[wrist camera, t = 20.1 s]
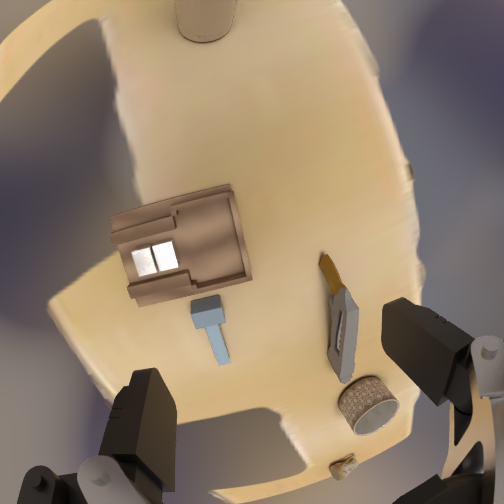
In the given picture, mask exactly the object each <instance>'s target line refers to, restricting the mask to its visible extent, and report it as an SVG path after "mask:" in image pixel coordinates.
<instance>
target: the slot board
mask: <svg viewBox="0 0 504 504" xmlns="http://www.w3.org/2000/svg"><path fill="white" fill-rule="evenodd" d="M110 221H111V224H112V228H113V232H112V233H110V237H111V241H112V244H113V246H116V245H118V249H119V252H120V255H121V258H122V262H123V265H124V268H125V271H126V274H127V277H128V279H129V282H130V284H129V285H128V287H127V290H128V292H129V295H130V298H131V299H133V298H135V299H136V301H137V304H138V307H142V306H146V305H151V304H155V303H160V302H164V301H169V300H173V299H177V298H181V297H186V296H190V295H194V294H198V293H203V292H207V291H211V290H215V289H219V288H223V287H227V286H231V285H235V284H239V283H243V282H247V281H251V280H253V279H252V274H251V270H250V265H249V261H248V256H247V252H246V247H245V243H244V238H243V234H242V229H241V225H240V220H239V216H238V211H237V206H236V202H235V197H234V193H233V191H232V190H231V185H230V184H228V185H224V186H219V187H215V188H211V189H207V190H203V191H199V192H195V193H191V194H187V195H183V196H179V197H175V198H171V199H168V200H164V201H160V202H157V203H153V204H150V205H146V206H143V207H139V208H136V209H133V210H129V211H126V212H123V213H120V214H116V215H113V216H110ZM171 238H174V242H175V246H176V249H177V253H178V256H179V260H180V264H179V267H176V268H172V269H168V270H164V271H160V270H159V269H158V271H157V272H156V273H152V274H148V275H144V276H140V277H139V275H138V272H137V269H136V266H135V262H134V259H133V256H132V253H131V252H132V251H133V250H134V249H135V248H137V247H141V246H144V245H148V244H152V243H153V245H154V244H155V243H156V242H159V241H163V240H167V239H171Z"/></svg>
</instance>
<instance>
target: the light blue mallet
mask: <svg viewBox="0 0 504 504" xmlns="http://www.w3.org/2000/svg"><path fill="white" fill-rule="evenodd" d="M191 317H192V320H193V322H194V325H195V328H196V329H200V328H204V327H205V328H206V331H207V334H208V337H209V340H210V342H211V345H212V348H213V351H214V353H215V356H216V359H217V361H218V364H219V366H220V365H224V364H229V363H230V357H229V353H228V350H227V347H226V344H225V341H224V338H223V335H222V332H221V329H220V325H219V324H222V323H226V322H225V316H224V310H223V306H222V303H221V299H220V295H216V296H212V297H208V298H203V299H199V300H195V301H191Z"/></svg>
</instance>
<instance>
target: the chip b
mask: <svg viewBox="0 0 504 504" xmlns="http://www.w3.org/2000/svg"><path fill="white" fill-rule="evenodd" d="M152 247H153V251H154V254H155V257H156V261H157V264H158V267H159V270H160V271H164V270H168V269H172V268H176V267H179V264H180V260H179V256H178V253H177V249H176V246H175V242H174V238H171V239H167V240H163V241H159V242H156V243H155V244H154V245H153V246H152Z"/></svg>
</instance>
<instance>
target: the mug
mask: <svg viewBox="0 0 504 504" xmlns="http://www.w3.org/2000/svg"><path fill="white" fill-rule="evenodd" d="M351 458H353V459H351ZM355 458H356V456H351V457H349V458H348V459H347V460H345V461H344V462H341V463H336V464H334V465H332V466H331V467H330V472H331V474H332V476H333V477H334V478H335V479H336V480H338V481H339V480H342V479H344V478H345V477H346V476H347V475H348V474H349V473H350V472H351V471H352V470H353V469H354V468H356V467H357V466H358V461H357V460H355ZM350 459H351V460H350ZM348 460H349V461H348Z"/></svg>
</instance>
